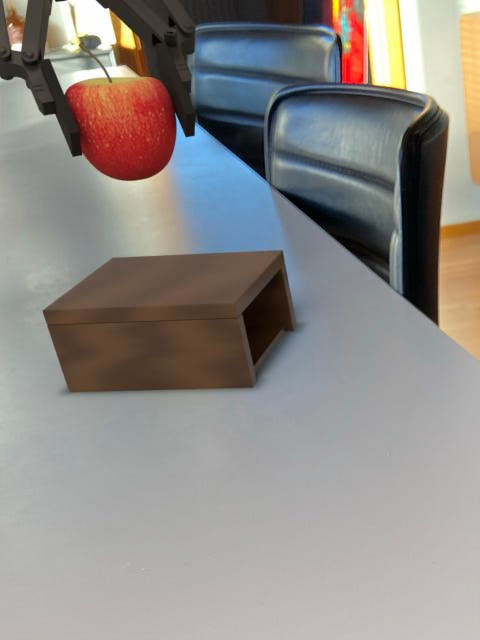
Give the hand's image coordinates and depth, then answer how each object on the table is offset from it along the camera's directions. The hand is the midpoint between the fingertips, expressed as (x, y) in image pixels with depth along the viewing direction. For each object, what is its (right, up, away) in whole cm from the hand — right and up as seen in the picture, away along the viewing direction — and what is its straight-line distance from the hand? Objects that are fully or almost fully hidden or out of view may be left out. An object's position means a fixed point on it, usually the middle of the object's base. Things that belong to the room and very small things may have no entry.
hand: (134, 134), depth 80 cm
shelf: (+2, -15, +9) cm, 18 cm away
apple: (-1, -1, +5) cm, 5 cm away
